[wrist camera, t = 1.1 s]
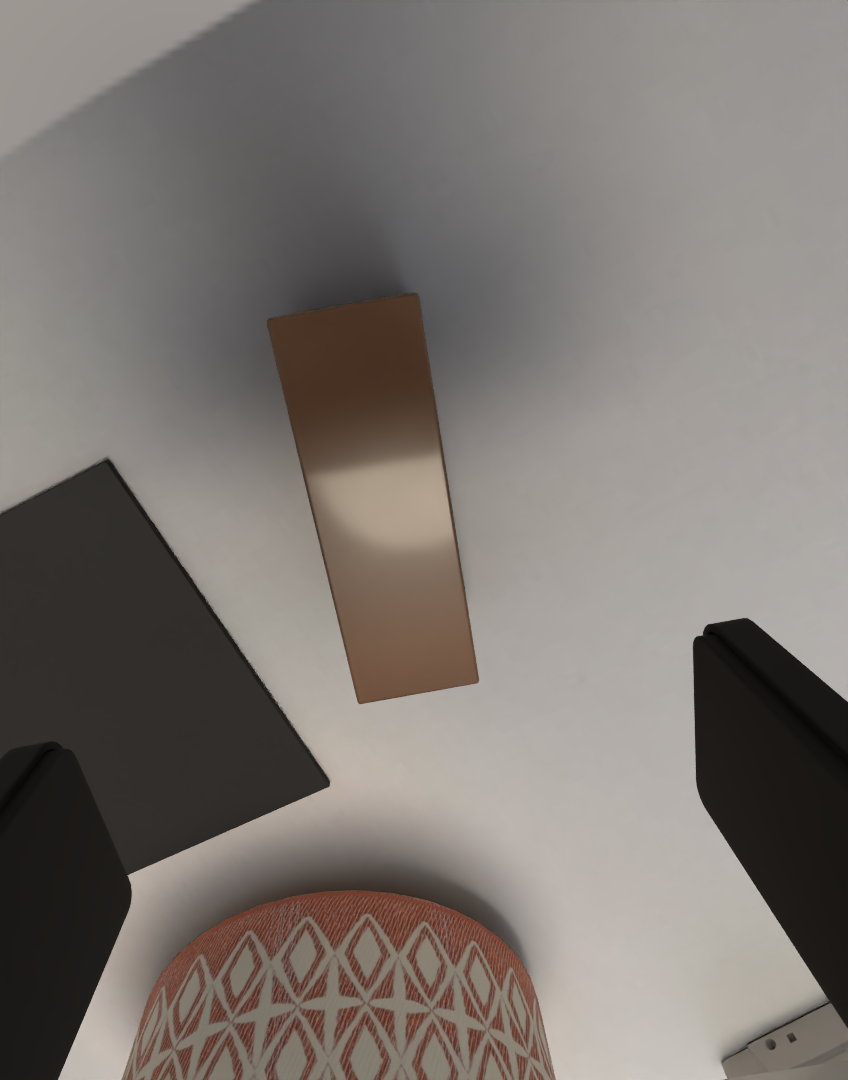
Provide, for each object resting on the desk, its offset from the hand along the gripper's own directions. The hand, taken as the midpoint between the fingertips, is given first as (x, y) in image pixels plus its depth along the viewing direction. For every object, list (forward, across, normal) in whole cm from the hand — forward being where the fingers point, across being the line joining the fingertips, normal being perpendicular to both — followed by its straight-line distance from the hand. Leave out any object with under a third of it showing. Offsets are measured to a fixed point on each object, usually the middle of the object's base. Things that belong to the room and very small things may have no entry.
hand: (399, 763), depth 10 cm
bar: (+15, 0, -1) cm, 15 cm away
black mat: (+15, +13, +6) cm, 21 cm away
